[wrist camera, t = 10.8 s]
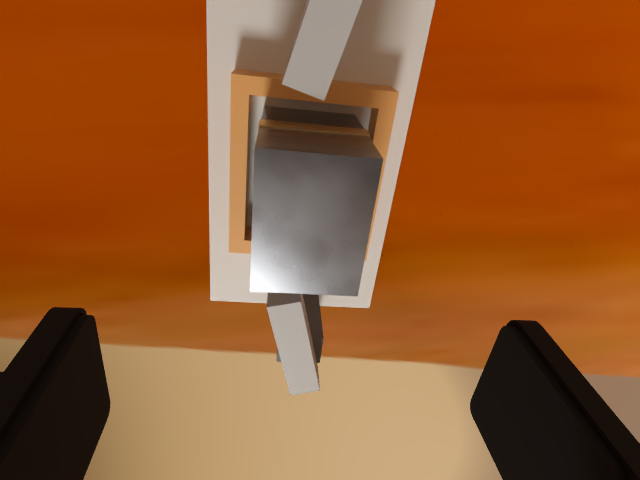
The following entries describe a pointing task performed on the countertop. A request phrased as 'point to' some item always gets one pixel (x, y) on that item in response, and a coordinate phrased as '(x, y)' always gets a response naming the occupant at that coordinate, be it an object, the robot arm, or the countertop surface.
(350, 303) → the stand
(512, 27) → the countertop surface
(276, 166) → the block
